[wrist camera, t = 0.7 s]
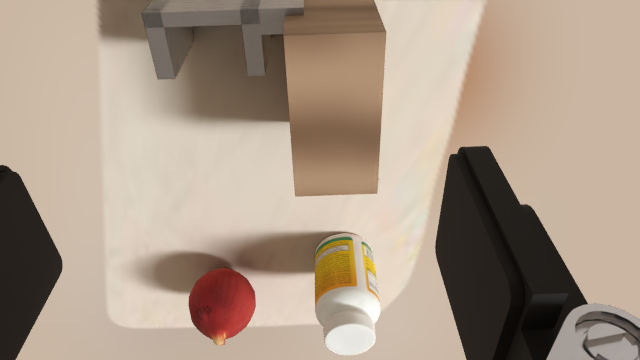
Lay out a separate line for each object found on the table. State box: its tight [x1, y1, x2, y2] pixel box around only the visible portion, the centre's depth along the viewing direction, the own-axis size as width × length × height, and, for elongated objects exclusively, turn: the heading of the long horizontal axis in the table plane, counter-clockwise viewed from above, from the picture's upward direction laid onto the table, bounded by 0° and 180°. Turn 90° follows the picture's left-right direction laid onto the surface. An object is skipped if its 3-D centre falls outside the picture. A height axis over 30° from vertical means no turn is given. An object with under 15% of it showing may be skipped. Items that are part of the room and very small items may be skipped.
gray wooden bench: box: [142, 0, 304, 79], centre depth 29 cm, size 4×9×6 cm, turn 92°
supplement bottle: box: [315, 233, 380, 355], centre depth 41 cm, size 5×5×10 cm
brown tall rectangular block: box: [283, 0, 386, 196], centre depth 30 cm, size 10×5×9 cm, turn 2°
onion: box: [189, 268, 256, 346], centre depth 43 cm, size 6×6×8 cm
